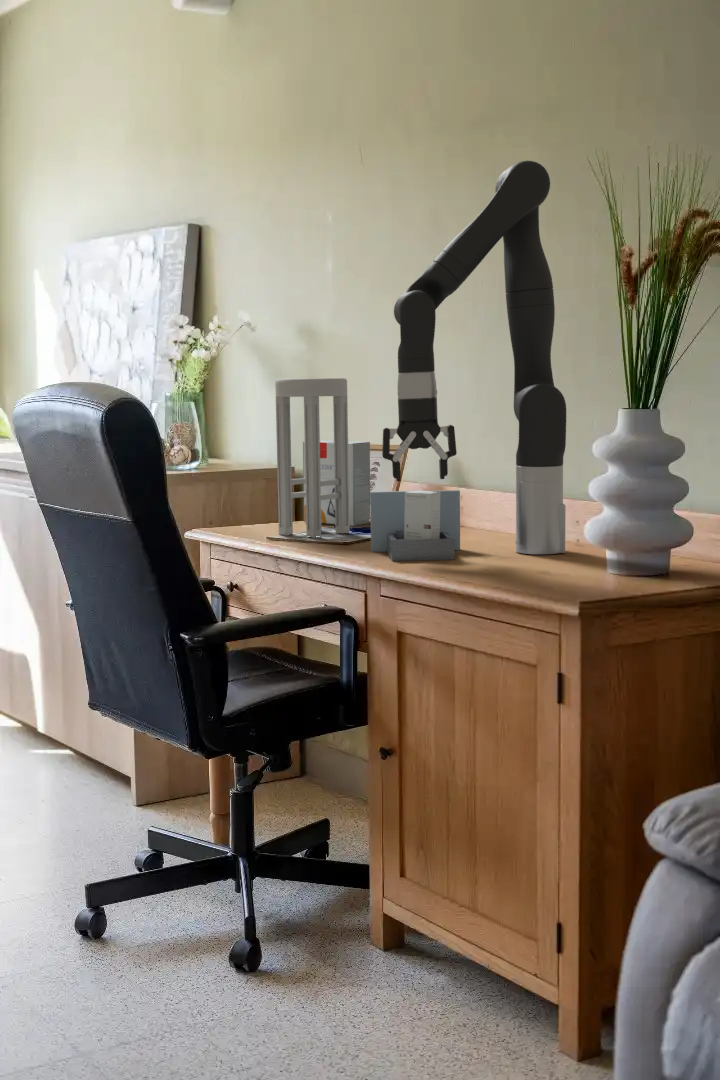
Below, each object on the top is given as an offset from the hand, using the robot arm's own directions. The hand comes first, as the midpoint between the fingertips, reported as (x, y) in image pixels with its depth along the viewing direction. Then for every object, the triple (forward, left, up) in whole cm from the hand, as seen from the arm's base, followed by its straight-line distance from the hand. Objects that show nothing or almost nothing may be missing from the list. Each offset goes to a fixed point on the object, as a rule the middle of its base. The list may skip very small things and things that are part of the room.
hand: (420, 479), depth 253 cm
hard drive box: (+14, -63, -15) cm, 66 cm away
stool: (+20, -41, -15) cm, 48 cm away
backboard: (0, -9, -15) cm, 18 cm away
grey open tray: (0, -1, -15) cm, 15 cm away
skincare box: (0, 0, -15) cm, 15 cm away
